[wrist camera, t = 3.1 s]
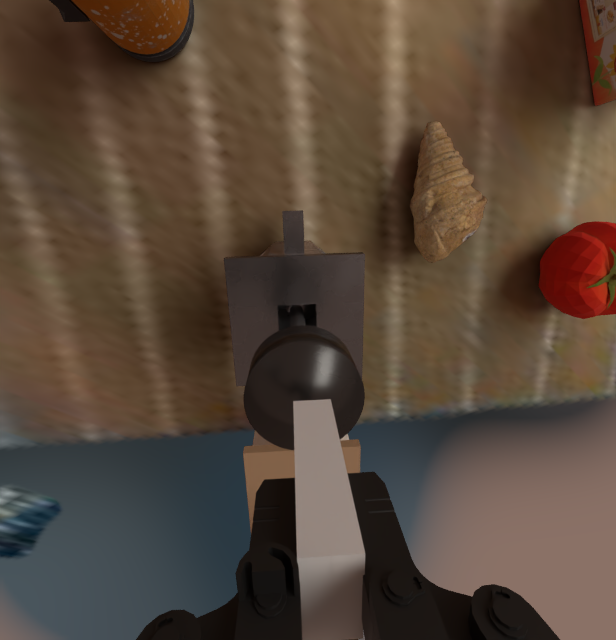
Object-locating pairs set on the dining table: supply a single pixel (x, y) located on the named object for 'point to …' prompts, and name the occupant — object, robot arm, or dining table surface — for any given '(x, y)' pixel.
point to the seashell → (443, 197)
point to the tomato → (581, 271)
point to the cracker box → (601, 46)
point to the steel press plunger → (300, 377)
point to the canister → (137, 23)
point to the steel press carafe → (293, 293)
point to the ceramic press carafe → (283, 464)
